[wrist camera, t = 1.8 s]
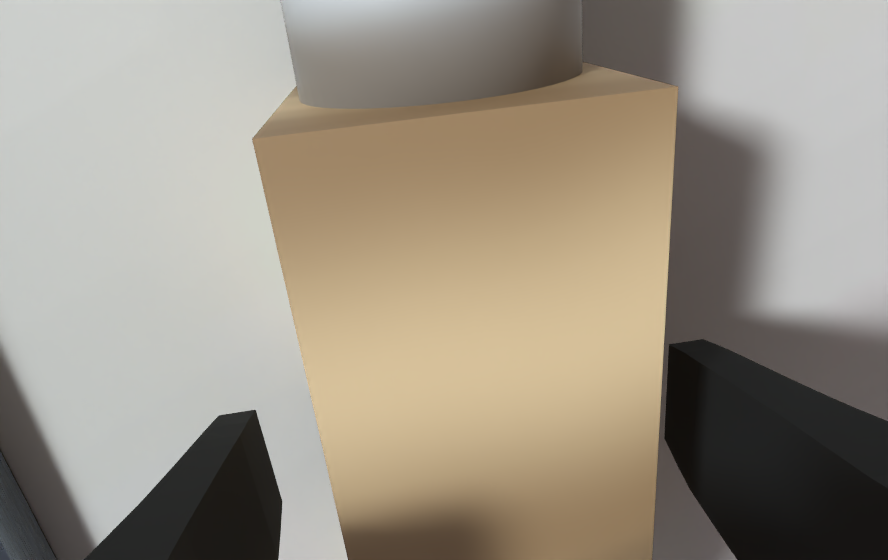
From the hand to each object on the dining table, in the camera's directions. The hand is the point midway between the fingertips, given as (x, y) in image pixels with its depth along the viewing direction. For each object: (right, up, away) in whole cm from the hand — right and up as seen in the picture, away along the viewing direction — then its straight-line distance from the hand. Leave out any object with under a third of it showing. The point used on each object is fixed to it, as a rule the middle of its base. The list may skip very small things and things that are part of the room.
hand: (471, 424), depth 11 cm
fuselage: (0, +1, +2) cm, 2 cm away
